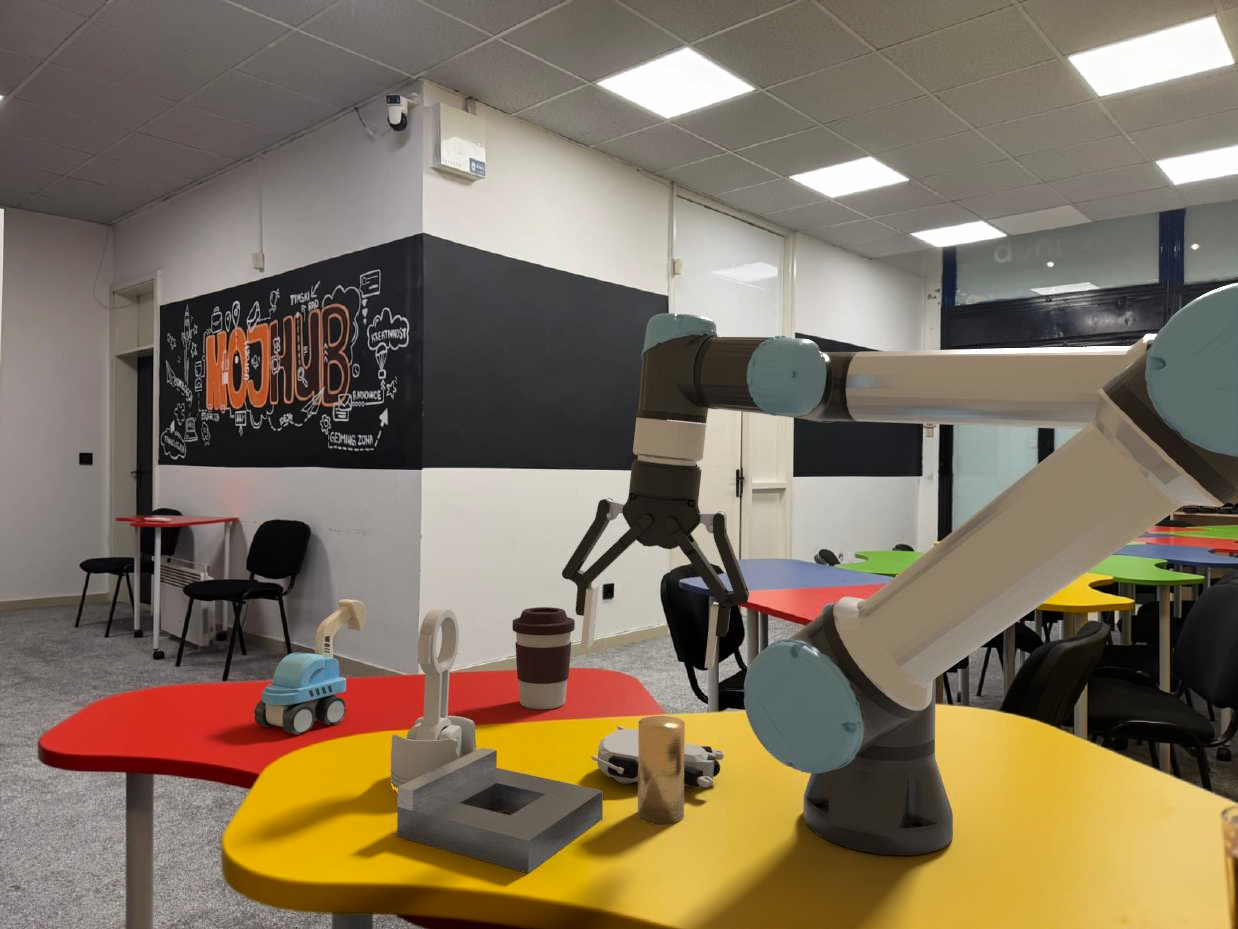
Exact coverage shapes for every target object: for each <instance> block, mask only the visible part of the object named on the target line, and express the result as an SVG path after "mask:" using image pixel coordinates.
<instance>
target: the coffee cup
mask: <svg viewBox="0 0 1238 929" xmlns="http://www.w3.org/2000/svg"><path fill="white" fill-rule="evenodd" d="M575 624H576V622H575V619H574V618H571V617H568V616H567V613H566V610H565V609H563V608H561V607H550V606H547V607H546V606H544V607H543V606H541V607H540V606H539V607H538V606H537V607H529V608H525V609H523V610H522V612H521V614H520V617H516V618H514V619H513V620H512V626H511V627H512V631H513V632H514V633H515V634H516V635H515V636H516V641H515V643H514V644H515V645H514V646H515V659H516V660H515V661H516V674H517V675H516V677H517V679H518V692H519V702H520V705H521V706H522V707H525V708H527V709H531V710H552V709H557V708H561V707H562V706H564V704H565V703H566V700H567V689H568V688H567V686H568V679H569V677H570V676H569V675H570V664H571V652H572V642H571V633H572V632H574V631H575V628H576V627H575V626H576V625H575Z"/></svg>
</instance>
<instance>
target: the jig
mask: <svg viewBox="0 0 1238 929" xmlns="http://www.w3.org/2000/svg"><path fill="white" fill-rule="evenodd" d="M497 752H498V750H497V749H492V748H487V747H481V748H478V749H477V750H476V751H474V752H472V753H470V754H468V755H466V756H463V757H461V758H459V759H457V760H455V761H453V762H450V763H448V764H446V765H444V766H442V767H440V768H437V769H435V770H433V771H431V772H429V773H427V774H425V775H422V776H420V777H418V778H416V779H414V780H412V781H409V782H407V783H405V784H403V785H401V786H399V787H398V793H397V813H396V814H397V816H396V817H397V818H396V819H397V820H396V823H397V824H396V832H397V833H396V836H397V838H401V839H405V840H408V841H412V842H414V843H415V842H416V843H419V844H422V845H426V846H429V847H433V848H436V849H440V850H443V851H447V852H451V853H454V854H458V855H461V856H465V857H467V858H468V857H469V858H472V859H475V860H479V861H483V862H485V863H486V862H487V863H490V864H492V865H495V866H500V867H503V868H507V869H510V870H515V871H518V872H522V873H525V874H530V873H531V872H533V871H534V870H535V869H537V868H538V867H539V866H541V865H542V864H544V862H546V861H548V860H549V859H550V858H552V857H553V856H554V855H556V854H557V853H558V852H560V851H561V850H562V849H564V848H565V847H567V846H568V845H569V844H571V843H572V842H573V841H575V840H576V839H577V838H579V837H580V836H581V835H583V834H584V833H585V832H587V831H588V830H590V828H592V827H594V826H595V825H596V824H597V823H599V822H600V821H601V820H603V817H604V816H603V808H604V806H603V802H604V799H603V798H604V795H603V794H604V791H603V790H602V789H601V790H600V789H598V788H592V787H587V786H583V785H579V784H578V785H577V784H573V783H569V782H565V781H564V782H563V781H560V780H555V779H550V778H546V777H543V776H542V777H541V776H537V775H531V774H527V773H522V772H518V771H513V770H508V769H503V768H499V767H497V764H498V763H497V762H498V760H497V757H498V756H497V754H498V753H497ZM500 812H502V813H500ZM509 814H510V815H509Z"/></svg>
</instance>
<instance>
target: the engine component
mask: <svg viewBox="0 0 1238 929" xmlns="http://www.w3.org/2000/svg"><path fill="white" fill-rule="evenodd" d="M426 613H427V614H425V616H424V617H423V620H422V622H421V626H420V629H419V635H418V642H417V664H419V665H420V668H421V670H422V672H423V673H424V674H425V678H424V695H423V696H424V697H423V700H424V701H423V716H421V717H419V718H417V719H416V720H415V722H414V725H413V726H412V727H411V728H409V730H408V731H407V735H406V737H405V738H404V737H402V736H399V735H396V734H392V735H391V749H390V750H391V751H390V784H391V783H392V784H393V786H394V787H396V788H398V787H399V786H401V785H403V784H405V783H407V782H409V781H412V780H414V779H416V778H418V777H420V776H422V775H425V774H427V773H429V772H431V771H433V770H435V769H437V768H440V767H442V766H444V765H446V764H448V763H450V762H453V761H455V760H457V759H459V758H461V757H463V756H466V755H468V754H470V753H472V752H474V751H476V750H478V749H477V740H476V724H475V722H474V720H472V719H470V718H467V717H463V716H456V715H448V714H449V693H450V691H449V690H450V672H451V670H452V668H453V666H454V664H455V661H456V659H457V656H458V653H459V652H458V650H459V649H458V648H459V641H460V639H459V638H460V630H459V623H458V619H457V616H456V613H455V612H454V610H453V609H450V608H448V607H447V608H445V607H444V608H442V607H434V608H432V609H430V610H429V611H428V612H426ZM440 630H441V644H440V650H439V653H438V656H437V641H438V640H437V639H438V635H439V631H440ZM391 780H392V781H391Z"/></svg>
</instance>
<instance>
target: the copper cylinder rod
mask: <svg viewBox="0 0 1238 929" xmlns="http://www.w3.org/2000/svg"><path fill="white" fill-rule="evenodd" d="M685 726H686V723H685V721H684V720H682V719H680V718H678V717H675V716H668V715H653V716H647V717H643V718H641V719H639V720H638V730H639V733H638V781H637V817H638V819H639V820H641V821H643V822H645V823H647V824H651V825H658V826H659V825H660V826H665V825H668V826H669V825H673V824H678V823H679V822H681V821H682V820H683V819H684V817H685V785H684V743H686V742H685V741H686V740H685V736H686V735H685V730H686V728H685Z"/></svg>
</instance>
